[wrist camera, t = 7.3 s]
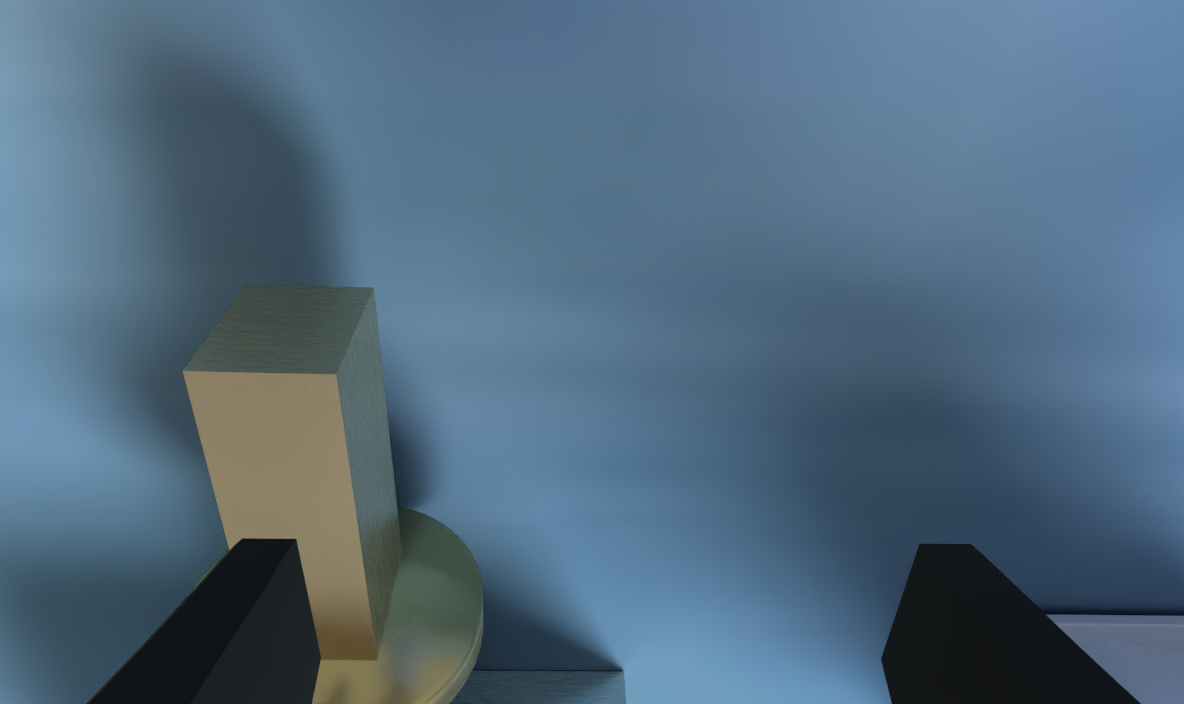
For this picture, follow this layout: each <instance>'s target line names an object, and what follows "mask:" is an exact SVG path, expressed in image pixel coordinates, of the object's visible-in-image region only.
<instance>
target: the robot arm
mask: <svg viewBox="0 0 1184 704" xmlns="http://www.w3.org/2000/svg"><path fill="white" fill-rule="evenodd" d="M881 660H882V664H883V669H884V673H885V677H886V681H887V685H888V689H889V693H890V697H891V701H892V704H1184V616H1153V615H1050V614H1045V613H1044V612H1042V611H1041V610H1040V609H1039V608H1038V607H1037V606H1036V605H1035V604H1034V603H1033V602H1032V601H1031V600H1030V599H1029V598H1028V597H1027V596H1026V595H1025V594H1024V593H1023V592H1022V591H1021V590H1019V589H1018V588H1017V587H1016V586H1015V585H1014V584H1013V583H1012V582H1011V581H1010V580H1009V579H1008V578H1007V577H1006V576H1005V575H1004V574H1003V573H1002V572H1001V571H1000V570H998V569H997V568H996V567H995V566H994V565H993V564H992V563H991V562H990V561H989V560H988V559H987V558H986V557H984V556H983V555H982V554H981V553H980V552H979V551H978V550H977V549H976V548H975V547H974V546H972V545H971V544H919V547H918V550H917V553H916V556H915V559H914V562H913V565H912V568H911V571H910V574H909V577H908V580H907V583H906V586H905V589H904V592H903V595H902V598H901V601H900V604H899V607H898V610H897V613H896V616H895V619H894V622H893V625H892V628H891V631H890V634H889V637H888V640H887V643H886V646H885V649H884V652H883V655H882V658H881ZM320 661H321V654H320V649H319V644H318V640H317V635H316V630H315V625H314V621H313V616H312V611H311V606H310V602H309V597H308V592H307V587H306V583H305V578H304V573H303V568H302V564H301V559H300V554H299V549H298V545H297V540H296V539H257V538H242V539H241V540H240V541H239V542H237V543H236V544H235V545H234V546H233V547H232V548H231V549H230V550H229V552H228V553H227V554H226V555H225V556H224V557H223V558H222V559H221V560H220V561H219V562H218V564H217V565H216V566H215V567H214V568H213V569H212V570H211V571H210V572H209V574H208V575H207V576H206V577H205V578H204V579H203V580H202V581H201V582H200V584H199V585H198V586H197V587H196V588H195V589H194V590H193V591H192V592H191V593H190V595H189V596H188V597H187V598H186V599H185V600H184V601H183V602H182V603H181V604H180V606H179V607H178V608H177V609H176V610H175V611H174V612H173V613H172V614H171V615H170V616H169V618H168V619H167V620H166V621H165V622H164V623H163V624H162V625H161V626H160V627H159V628H158V629H157V631H156V632H155V633H154V634H153V635H152V636H151V637H150V638H149V639H148V640H147V641H146V642H145V644H144V645H143V646H142V647H141V648H140V649H139V650H138V651H137V652H136V653H135V654H134V655H133V656H132V657H131V658H130V659H129V660H128V661H127V662H126V663H125V664H124V665H123V666H122V667H121V669H120V670H119V671H118V672H117V673H116V674H115V675H114V676H113V677H112V678H111V679H110V680H109V681H108V682H107V683H106V684H105V685H104V686H103V687H102V688H101V689H100V690H99V691H98V692H97V694H96V695H95V696H94V697H93V698H92V699H91V700H90V701H89V702H88V703H87V704H312V700H313V695H314V691H315V686H316V681H317V676H318V671H319V666H320Z"/></svg>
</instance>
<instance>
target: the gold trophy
mask: <svg viewBox="0 0 1184 704" xmlns="http://www.w3.org/2000/svg"><path fill="white" fill-rule="evenodd" d="M183 374H184V378H185V382H186V386H187V390H188V394H189V397H190V401H191V405H192V409H193V413H194V417H195V421H196V424H197V428H198V432H199V436H200V440H201V444H202V447H203V451H204V455H205V459H206V463H207V467H208V470H209V474H210V478H211V482H212V486H213V490H214V494H215V497H216V501H217V505H218V509H219V513H220V517H221V520H222V524H223V528H224V532H225V536H226V540H227V544H228V547H229V550H230V549H231V548H232V547H233V546H234V545H235V544H236V543H237V542H239V541H240V540H241V539H242V538H257V539H296V540H297V545H298V549H299V554H300V559H301V564H302V568H303V573H304V578H305V583H306V587H307V592H308V597H309V602H310V606H311V611H312V616H313V621H314V625H315V630H316V635H317V640H318V644H319V649H320V654H321V661H320V666H319V671H318V676H317V681H316V686H315V691H314V695H313V700H312V704H449V703H450V702H451V701H452V700H453V699H454V698H455V696H456V695H457V694H458V692H459V691H460V689H461V688H462V687H463V685H464V684H465V682H466V681H467V679H468V677H469V675H470V673H471V671H472V669H473V667H474V665H475V663H476V660H477V657H478V654H479V651H480V648H481V642H482V637H483V594H482V583H481V577H480V573H479V570H478V567H477V564H476V561H475V559H474V558H473V556H472V554H471V552H470V550H469V549H468V548H467V546H466V545H465V544H464V542H463V541H462V540H461V539H460V538H459V537H458V536H457V535H456V534H455V533H454V532H453V531H452V530H451V529H449V528H448V527H446V526H445V525H443V524H442V523H441V522H439V521H437V520H435V519H433V518H431V517H429V516H428V515H425V514H423V513H420V512H417V511H415V510H412V509H408V508H404V507H400V506H397V500H396V491H395V482H394V472H393V463H392V454H391V445H390V435H389V426H388V417H387V407H386V398H385V389H384V379H383V370H382V361H381V351H380V342H379V333H378V323H377V314H376V305H375V295H374V288H364V287H327V286H290V285H254V284H245V286H244V287H243V288H242V290H241V291H240V293H239V294H238V295H237V297H236V298H235V299H234V301H233V302H232V304H231V305H230V306H229V308H228V309H227V311H226V312H225V313H224V315H223V316H222V317H221V319H220V320H219V322H218V323H217V324H216V326H215V327H214V328H213V330H212V331H211V333H210V334H209V335H208V337H207V338H206V339H205V341H204V342H203V344H202V345H201V346H200V348H199V349H198V351H197V352H196V353H195V355H194V356H193V357H192V359H191V360H190V362H189V363H188V364H187V366H186V367H185V368H184V370H183ZM229 550H228V551H227V552H226V553H224V554H223V555H222V556H221V557H220V558H218V559H217V560H216V561H215V563H214V564H213V565H212V566H211V567H210V568H209V569H208V570H207V571H206V572H205V573H204V575H203V576H202V577H201V578H200V580H199V581H198V582H197V584H196V585H195V586H194V588H193V590H194V589H195V588H196V587H197V586H198V585H199V584H200V582H201V581H202V580H203V579H204V578H205V577H206V576H207V575H208V574H209V572H210V571H211V570H212V569H213V568H214V567H215V566H216V565H217V564H218V562H219V561H220V560H221V559H222V558H223V557H224V556H225V555H226V554H227V553H228V552H229ZM193 590H192V591H193Z"/></svg>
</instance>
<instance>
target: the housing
mask: <svg viewBox="0 0 1184 704" xmlns="http://www.w3.org/2000/svg"><path fill="white" fill-rule="evenodd" d="M449 704H626V697H625V682H624V672H600V671H471V673H470V675H469V677H468V679H467V681H466V682H465V684H464V685H463V687H462V688H461V689H460V691H459V692H458V694H457V695H456V696H455V698H454V699H453V700H452V701H451V702H450V703H449Z"/></svg>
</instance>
